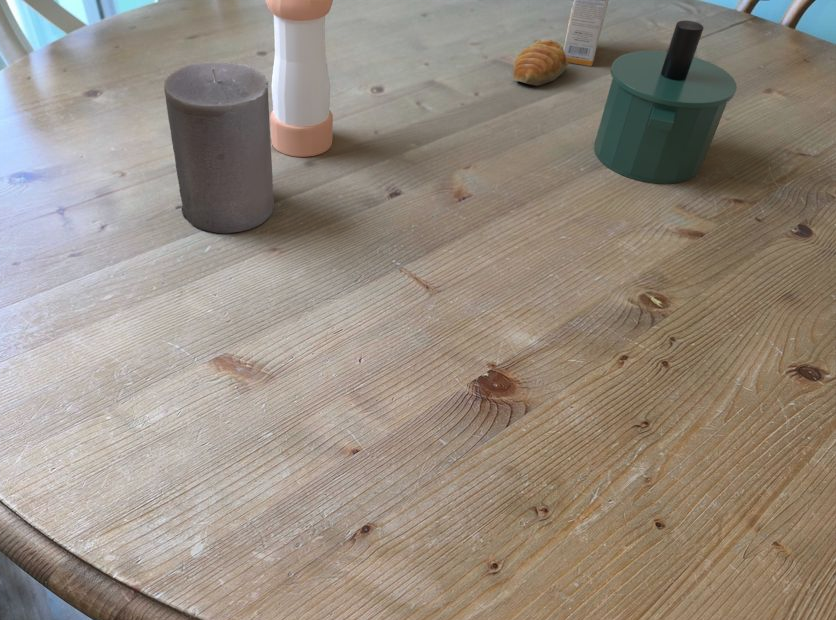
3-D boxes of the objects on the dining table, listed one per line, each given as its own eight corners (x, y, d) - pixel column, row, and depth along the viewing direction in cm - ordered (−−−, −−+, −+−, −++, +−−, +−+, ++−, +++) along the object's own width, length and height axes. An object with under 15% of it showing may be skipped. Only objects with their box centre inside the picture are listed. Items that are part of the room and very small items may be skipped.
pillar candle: (164, 220, 77) (138, 78, 66) (212, 174, 84) (196, 39, 73) (248, 244, 75) (235, 101, 64) (291, 195, 81) (286, 59, 71)
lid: (734, 74, 88) (757, 15, 83) (730, 124, 79) (756, 61, 74) (617, 52, 91) (633, -6, 86) (600, 97, 82) (617, 35, 77)
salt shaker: (281, 123, 93) (274, -44, 79) (338, 131, 92) (341, -37, 79) (263, 152, 88) (253, -22, 74) (324, 161, 87) (324, -14, 73)
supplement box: (565, 41, 116) (585, -52, 106) (596, 46, 115) (620, -47, 106) (559, 62, 110) (580, -34, 101) (592, 67, 109) (616, -29, 100)
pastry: (545, 94, 102) (551, 66, 99) (499, 81, 104) (504, 54, 102) (568, 70, 108) (574, 43, 105) (525, 59, 110) (529, 32, 108)
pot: (704, 134, 96) (732, 61, 89) (695, 205, 83) (727, 126, 77) (605, 113, 98) (625, 41, 92) (582, 179, 86) (603, 101, 80)
